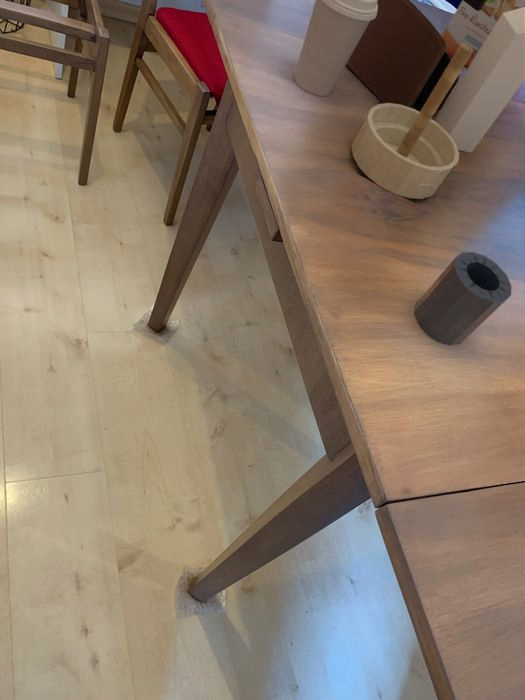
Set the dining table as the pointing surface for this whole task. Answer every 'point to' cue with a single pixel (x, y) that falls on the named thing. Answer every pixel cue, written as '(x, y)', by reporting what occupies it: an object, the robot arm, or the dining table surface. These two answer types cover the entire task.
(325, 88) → the coffee cup
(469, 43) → the cracker box
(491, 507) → the dining table surface
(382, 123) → the bowl
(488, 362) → the dining table surface
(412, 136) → the stick
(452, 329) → the crock
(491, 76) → the milk
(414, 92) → the letter holder
